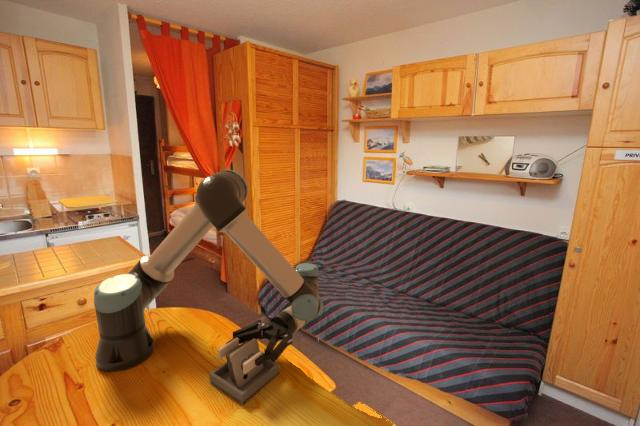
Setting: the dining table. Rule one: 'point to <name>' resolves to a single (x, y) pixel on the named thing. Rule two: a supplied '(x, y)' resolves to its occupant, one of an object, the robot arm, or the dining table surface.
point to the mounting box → (246, 392)
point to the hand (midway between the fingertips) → (231, 361)
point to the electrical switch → (240, 357)
